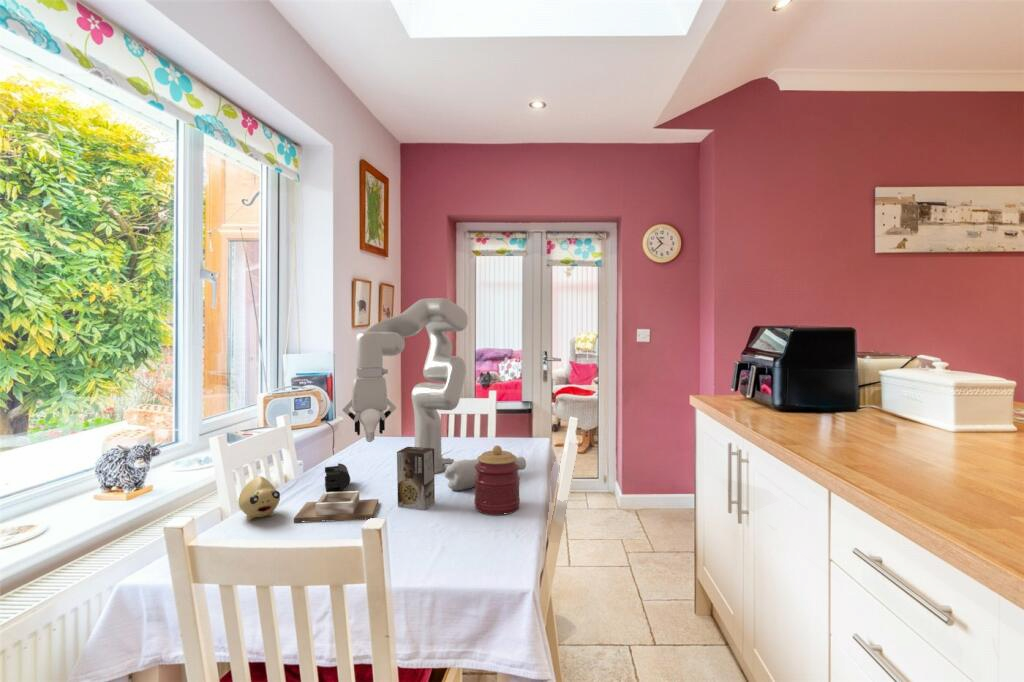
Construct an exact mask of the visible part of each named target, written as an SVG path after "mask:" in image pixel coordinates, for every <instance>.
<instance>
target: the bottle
mask: <svg viewBox="0 0 1024 682" xmlns="http://www.w3.org/2000/svg"><path fill="white" fill-rule="evenodd" d="M526 461H527V460H526V459H525V457H524V456H518V457H517V460H516V463H518V464H519V465H520V468H519V470H518V471H523V470H525V469H526V467H527V462H526ZM478 462H479V461H478V460H477V458H475V459H461V460H456V461H455V460H454V462H453V463H452V464H451V465H449V464H448V466H446V469H445V470H444V477H445V478H446V479H448V480H449V482H448V483H447V486H448V488H449V489H450V490H452V491H455V492H458V490H459V491H462V490H467V489H471V488H473V487H475V480H474V478H475V476H476V470H475V468H474V466H475V465H476V464H477V463H478Z"/></svg>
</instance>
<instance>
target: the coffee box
mask: <svg viewBox="0 0 1024 682" xmlns="http://www.w3.org/2000/svg"><path fill="white" fill-rule="evenodd" d="M396 470H397V471H396V472H397V473H396V475H397V477H396V478H397V479H396V481H397V486H396V487H397V507H398V508H405V509H413V510H421V511H423V510H424V511H426V510H427V509H428V508H430V507H431V506H433V505H434V504H435V501H436V500H435V499H436V497H435V496H436V495H435V491H436V489H435V473H434V448H421V447H415V446H406V447H404V448H401V449H399V450H398V451H397V450H396Z"/></svg>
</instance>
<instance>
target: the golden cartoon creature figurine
mask: <svg viewBox="0 0 1024 682" xmlns="http://www.w3.org/2000/svg"><path fill="white" fill-rule="evenodd" d="M280 500H281V493H280V492H279V491H278V490H277V489H276V488H275V486H274V485H273V484H272V483H271V482H270V481H269V480H268V479H267V478H265V477H264V476H256V477H254V478H253V479H251V480H250V481H248V483H246V485H245V486H244V488H242V490H241V491H240V494H239V497H238V507H239V508H240V510H241V511H242V513H243V514H245V515H246V519H247V520H248V521H251V520H253V519H254V518H262V517H266V516H268V517H273V516H274V514H275V510H276V508H277V507H278V506H279V503H280Z"/></svg>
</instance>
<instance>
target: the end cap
mask: <svg viewBox="0 0 1024 682" xmlns="http://www.w3.org/2000/svg"><path fill="white" fill-rule="evenodd" d="M324 474H325V476H324V483H325V484H324V488H325V492H344V491H345V490H346V489H347V488H348V487H349V485H350V484H351V476H350V474H349V470H348V467H347V466H346V465H345V464H343V463H337V465H333V466H326V467H324Z"/></svg>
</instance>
